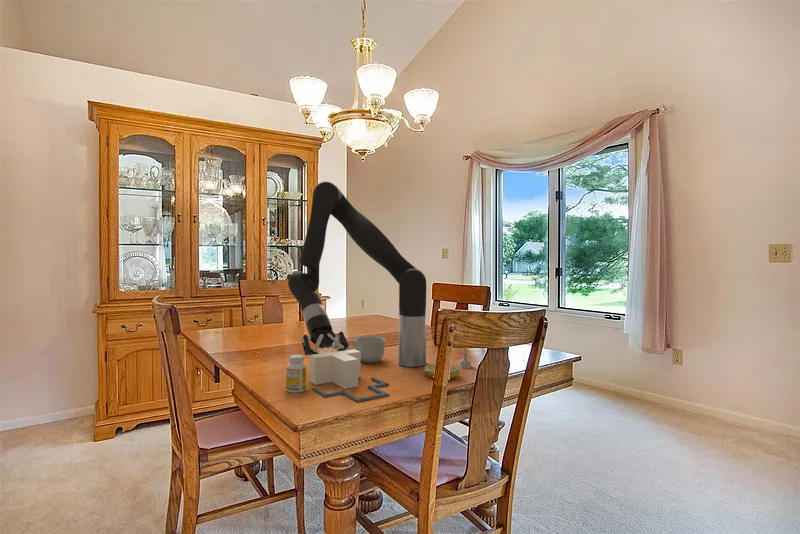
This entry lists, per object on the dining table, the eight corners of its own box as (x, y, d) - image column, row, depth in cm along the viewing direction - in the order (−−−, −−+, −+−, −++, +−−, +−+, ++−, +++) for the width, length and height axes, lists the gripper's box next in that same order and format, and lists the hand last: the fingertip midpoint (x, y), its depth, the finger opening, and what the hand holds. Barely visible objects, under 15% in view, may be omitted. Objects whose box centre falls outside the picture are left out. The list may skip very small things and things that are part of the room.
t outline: (312, 389, 126) (312, 387, 126) (373, 378, 138) (374, 376, 138) (338, 406, 113) (338, 403, 113) (404, 392, 125) (404, 390, 125)
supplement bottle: (291, 394, 122) (291, 359, 121) (282, 389, 126) (283, 355, 125) (309, 390, 125) (309, 356, 125) (300, 386, 129) (300, 353, 129)
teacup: (386, 357, 166) (386, 336, 166) (382, 365, 155) (382, 342, 155) (349, 356, 167) (349, 335, 167) (343, 363, 156) (343, 340, 156)
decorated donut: (435, 371, 149) (435, 359, 149) (464, 376, 143) (464, 364, 143) (418, 377, 140) (419, 365, 140) (449, 383, 134) (449, 371, 134)
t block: (309, 381, 134) (310, 354, 134) (354, 374, 142) (354, 349, 142) (327, 392, 124) (327, 363, 124) (373, 383, 132) (374, 356, 132)
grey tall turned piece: (471, 370, 149) (472, 316, 149) (452, 367, 152) (452, 315, 152) (477, 365, 156) (478, 313, 155) (458, 363, 159) (459, 312, 158)
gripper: (299, 315, 141) (314, 358, 132) (340, 312, 149) (356, 353, 140) (293, 329, 146) (306, 372, 137) (332, 325, 154) (348, 366, 145)
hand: (331, 362), depth 138 cm, fingers open, 8 cm apart
